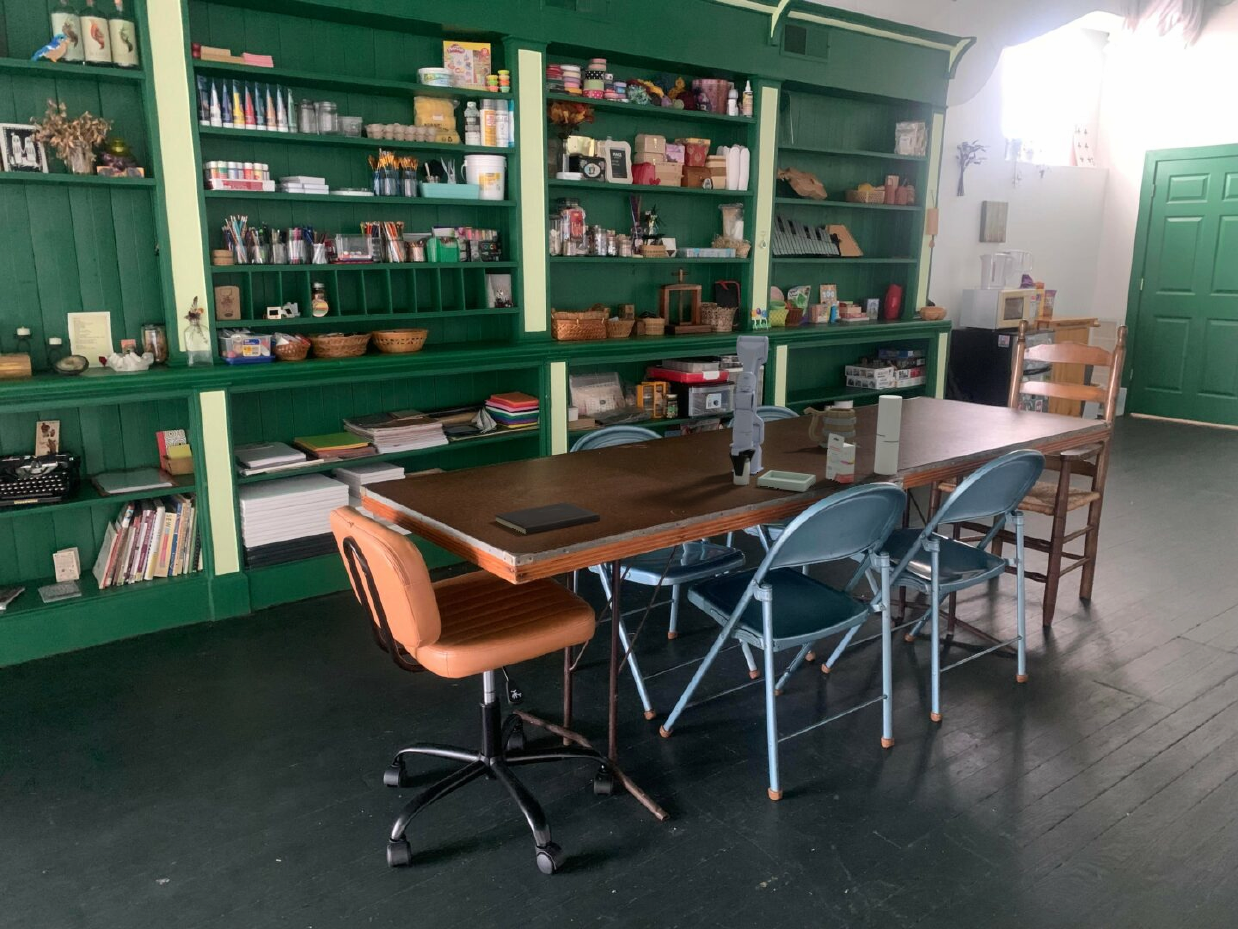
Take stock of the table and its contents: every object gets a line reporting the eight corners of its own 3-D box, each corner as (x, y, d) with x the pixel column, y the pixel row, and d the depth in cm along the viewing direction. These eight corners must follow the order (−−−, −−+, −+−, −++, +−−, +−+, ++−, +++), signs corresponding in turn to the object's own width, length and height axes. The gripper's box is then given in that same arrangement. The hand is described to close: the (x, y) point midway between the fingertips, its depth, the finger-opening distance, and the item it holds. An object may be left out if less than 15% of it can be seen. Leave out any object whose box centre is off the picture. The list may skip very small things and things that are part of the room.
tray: (770, 477, 298) (770, 470, 298) (815, 483, 292) (815, 475, 291) (757, 486, 287) (757, 478, 287) (804, 491, 281) (804, 483, 280)
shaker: (736, 480, 294) (737, 455, 292) (751, 482, 292) (752, 457, 290) (731, 484, 290) (732, 458, 288) (746, 485, 288) (747, 460, 286)
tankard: (850, 443, 355) (852, 404, 352) (859, 450, 343) (862, 409, 340) (797, 443, 355) (799, 404, 352) (805, 450, 343) (807, 409, 339)
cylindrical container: (881, 468, 312) (886, 394, 307) (900, 472, 307) (906, 396, 302) (870, 472, 307) (875, 396, 302) (889, 475, 303) (895, 399, 297)
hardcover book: (494, 523, 247) (494, 514, 247) (566, 510, 261) (566, 502, 260) (526, 537, 235) (526, 528, 234) (600, 522, 248) (600, 514, 248)
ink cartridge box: (854, 482, 293) (857, 436, 290) (841, 483, 291) (844, 437, 288) (837, 476, 301) (840, 431, 298) (824, 477, 299) (827, 432, 296)
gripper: (738, 426, 295) (737, 468, 298) (722, 433, 283) (721, 477, 286) (760, 428, 292) (758, 470, 295) (744, 435, 280) (743, 479, 283)
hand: (741, 474), depth 290 cm, fingers closed on shaker, 5 cm apart
